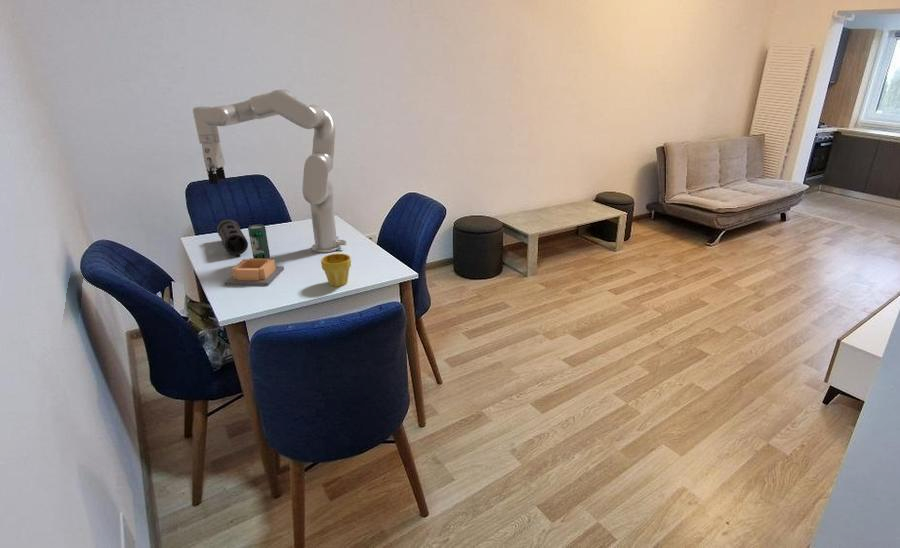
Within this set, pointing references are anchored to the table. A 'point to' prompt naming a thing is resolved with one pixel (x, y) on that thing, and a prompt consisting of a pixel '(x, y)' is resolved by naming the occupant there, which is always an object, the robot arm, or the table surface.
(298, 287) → the table surface
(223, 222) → the muzzle brake
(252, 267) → the socket block
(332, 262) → the plant pot
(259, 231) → the can
